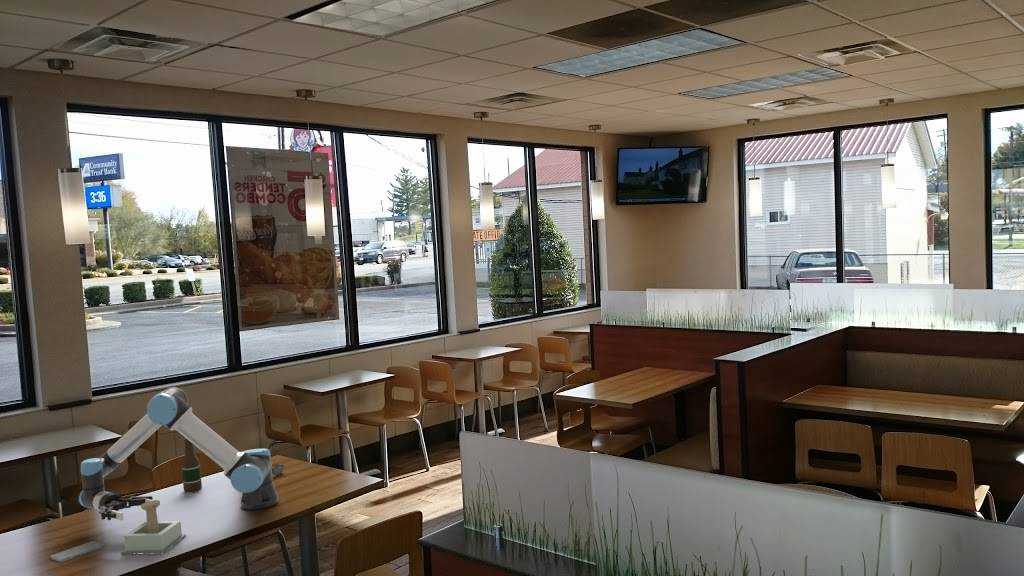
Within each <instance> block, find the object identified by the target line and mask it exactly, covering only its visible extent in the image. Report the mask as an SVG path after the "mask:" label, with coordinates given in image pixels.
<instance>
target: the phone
mask: <svg viewBox="0 0 1024 576" xmlns="http://www.w3.org/2000/svg"><path fill="white" fill-rule="evenodd" d="M101 548H104V543H101V542H98V541H95V540H91V541H89V542H86V543H83V544H81V545H80V544H79V545H77V546H75V547H72V548H69V549H65V550H63V551H60V552H57V553H55V554H51V555H50V556H49V557H50V560H53V561H56V562H57V563H63V562H66V561H68V560H71V559H75V558H77V557H79V555H80V556H83V555H86V554H87V553H88V554H89V553H91V552H94V551H96V550H98V549H101ZM93 550H94V551H93ZM82 554H83V555H82ZM76 556H77V557H76Z"/></svg>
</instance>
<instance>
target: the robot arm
mask: <svg viewBox="0 0 1024 576" xmlns="http://www.w3.org/2000/svg"><path fill="white" fill-rule="evenodd" d="M162 426H164V427H165V428H166V429H167V430H169V431H177V432H178V433H180V435H182V436H183V437H184V439H185V438H187V439H188V440H189V441H190V442H191V443H193V446H195V447H196V448H197V449H199V450H200V451H201V452H202V453H204V454H205V455H206V456H207V457H208V458H210V459H211V460H212V461H213V462H215V463H216V464H217V465H218V466H220V468H222V470H223V475H224V476H225V477H226V478H228V479H229V480H230V485H231V486H232V488H233V489H234V490H235V491H237V492H239V493H242V494H241V497H240V507H241V509H243V510H250V511H252V510H260V509H265V508H269V507H272V506H275V505H276V504H278V503H279V495H278V492H277V490H276V488H275V485H274V482H273V473H272V467H271V466H272V460H271V459H272V457H271V451H270V448H269V449H268V448H254V449H253V448H252V449H247V450H243V451H239V450H238V449H236V448H235V447H234V446H233V445H231V444H230V443H229V442H228V441H226V440H225V439H224V438H223V437H222V436H221V435H219V434H218V433H217V432H215V431H214V430H213V429H212V428H211V427H210V426H208V425H207V424H206V423H204V422H203V421H202V420H201V419H200V418H199V417H198V416H196V415H195V414H194V413H193V407H192V406H190V405H189V398H188V395H187V393H186V392H185V391H184V390H183V389H182V388H179V387H176V386H175V387H168V388H166V389H164V390H162V391H161V392H158V393H156V394H154V396H152V398H151V399H150V400H149V402H148V403H147V406H146V414H145V415H144V416H143V417H141V419H140V420H138V421H137V422H136V423H135V425H133V426H132V427H131V428H130V429H129V430H127V432H126V433H124V434H123V435H122V436H121V437H120V438H118V440H117V441H116V442H115V443H114V444H113V445H112V446H111V447H109V448H108V449H107V450H106V451H105V452H104V453H103V454H101V455H100V457H93V458H88V459H84V460H83V461H82V462H80V474H81V475H80V476H81V481H82V482H81V483H82V491H80V493H79V495H78V503H79V504H80V505H81V506H83V507H85V508H86V509H89V510H90V509H91V510H95V511H98V514H99V515H100V517H101V520H105V519H106V518H107V521H111V520H112V519H114V520H118V521H124V512H121V511H120V510H123V509H131V508H132V507H139V506H140V507H141V504H143V503H146V502H149V501H154V500H155V499H153V496H152V495H145V496H144V495H142V496H140V495H139V496H137V495H136V496H133V495H130V496H128V497H129V498H123V497H122V496H121V495H119V494H118V493H115V492H110V491H105V482H104V481H105V480H104V478H105V477H107V476H108V475H109V474H111V473H113V472H114V471H115V470H116V469H117V467H119V466H120V465H121V464H122V463H123V462H124V461H125V460H126V459H127V458H128V457H129V456H130V455H131V454H133V453H134V451H136V450H137V449H138V448H139V447H140V446H141V445H142V444H143V443H145V441H147V440H148V439H149V438H150V437H151V436H152V435H153V434H154V433H155V432H157V430H158V429H160V427H162ZM158 507H159V506H158ZM158 507H157V508H156V509H158Z"/></svg>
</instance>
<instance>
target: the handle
mask: <svg viewBox="0 0 1024 576" xmlns="http://www.w3.org/2000/svg"><path fill="white" fill-rule="evenodd" d="M153 500H154V501H149V502H146V503H143V504H141V506H140V507H141V510H144V511H145V513H146V522H147V533H159V525H158V515H157V509H158V508H157V507H159V506H160V505H161V502H160V500H157V499H153Z"/></svg>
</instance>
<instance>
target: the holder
mask: <svg viewBox="0 0 1024 576" xmlns="http://www.w3.org/2000/svg"><path fill="white" fill-rule="evenodd" d="M158 525H159V533H147V521H144V522H143V523H142V524H141V523H140V525H138V526H137V527H135V528H134V529H133V530H131V531H129V532H128V533H126V534H125V535H124V536H123V538H124V539H123V541H124V549H123V550H122V551H120V552H121V553H120V554H130V555H138V554H137V553H164V554H166V553H167V552H168V551H169V550H171V549H172V548H173V547H174V546H176V545H177V544H178V543H179V542H178V541H180V540H181V539H182V540H184V539H185V538H186V537H187V534H186V533H182V521H181V520H168V521H167V520H164V521H162V520H161V521H158ZM185 536H186V537H185ZM184 537H185V538H184ZM183 538H184V539H183ZM182 540H181V541H182ZM181 541H180V542H181ZM177 542H178V543H177ZM176 543H177V544H176ZM175 544H176V545H175ZM172 546H173V547H172ZM171 547H172V548H171ZM170 548H171V549H170ZM168 549H169V550H168ZM167 550H168V551H167ZM166 551H167V552H166ZM134 553H135V554H134Z"/></svg>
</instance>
